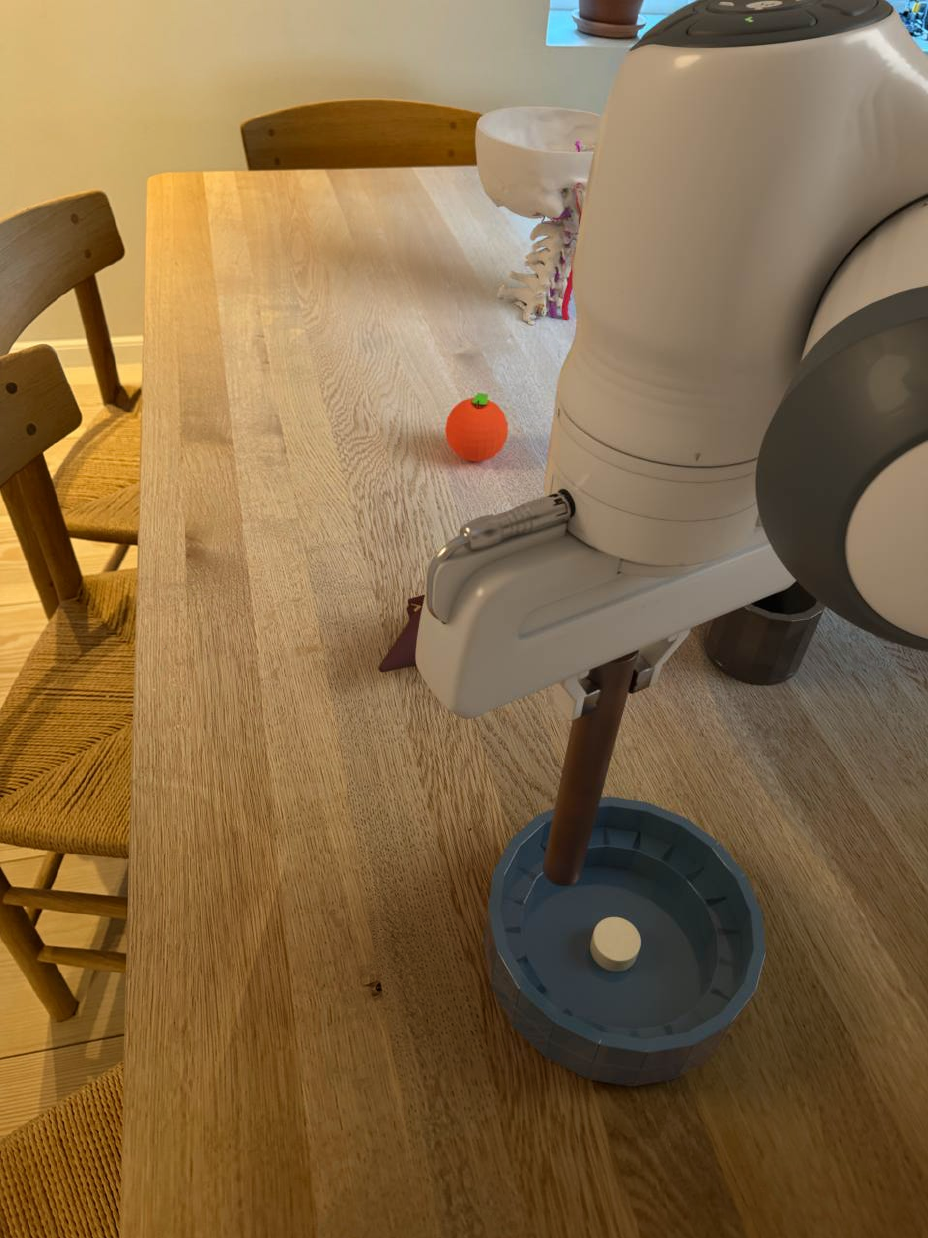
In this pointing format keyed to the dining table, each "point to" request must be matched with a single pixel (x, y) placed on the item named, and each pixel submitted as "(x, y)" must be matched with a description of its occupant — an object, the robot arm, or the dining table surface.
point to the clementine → (476, 428)
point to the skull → (540, 191)
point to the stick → (586, 772)
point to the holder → (764, 636)
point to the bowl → (665, 965)
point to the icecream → (405, 640)
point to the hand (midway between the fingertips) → (604, 694)
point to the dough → (615, 944)
